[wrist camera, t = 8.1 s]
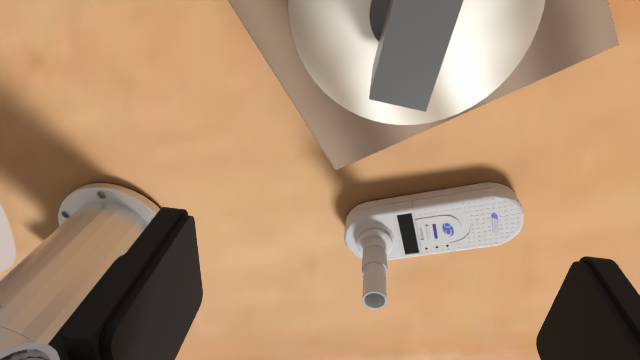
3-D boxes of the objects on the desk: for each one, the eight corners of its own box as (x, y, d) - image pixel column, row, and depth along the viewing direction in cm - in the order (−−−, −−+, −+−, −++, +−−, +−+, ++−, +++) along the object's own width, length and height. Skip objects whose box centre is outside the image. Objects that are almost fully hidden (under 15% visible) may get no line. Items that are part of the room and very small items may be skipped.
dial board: (339, 152, 36) (335, 171, 33) (227, -30, 29) (210, -25, 27) (598, 33, 28) (620, 45, 25) (521, -244, 22) (540, -267, 19)
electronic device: (558, 308, 29) (347, 328, 32) (516, 224, 38) (352, 247, 41) (558, 249, 27) (330, 278, 30) (514, 173, 35) (339, 202, 38)
